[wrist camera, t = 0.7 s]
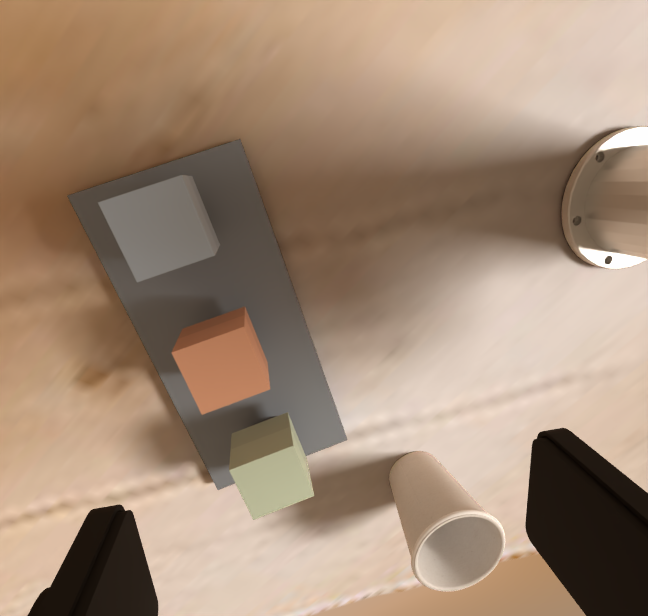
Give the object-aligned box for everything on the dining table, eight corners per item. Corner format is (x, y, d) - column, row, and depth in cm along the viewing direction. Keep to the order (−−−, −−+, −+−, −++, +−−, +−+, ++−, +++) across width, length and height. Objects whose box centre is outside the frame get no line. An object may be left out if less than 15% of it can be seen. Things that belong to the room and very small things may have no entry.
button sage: (287, 412, 35) (293, 445, 30) (306, 457, 37) (314, 496, 32) (231, 433, 35) (229, 470, 30) (252, 478, 36) (253, 520, 32)
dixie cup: (410, 519, 45) (452, 607, 36) (360, 479, 43) (392, 564, 33) (466, 468, 45) (524, 545, 35) (419, 425, 42) (468, 495, 32)
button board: (240, 140, 31) (239, 135, 28) (344, 432, 41) (352, 454, 37) (73, 195, 31) (53, 196, 27) (218, 481, 40) (216, 507, 36)
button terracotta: (245, 306, 32) (244, 326, 27) (267, 361, 33) (270, 389, 29) (182, 328, 31) (171, 352, 27) (208, 383, 33) (201, 414, 28)
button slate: (192, 176, 28) (181, 174, 24) (219, 244, 30) (215, 255, 26) (121, 199, 28) (97, 202, 24) (153, 267, 30) (137, 282, 25)
